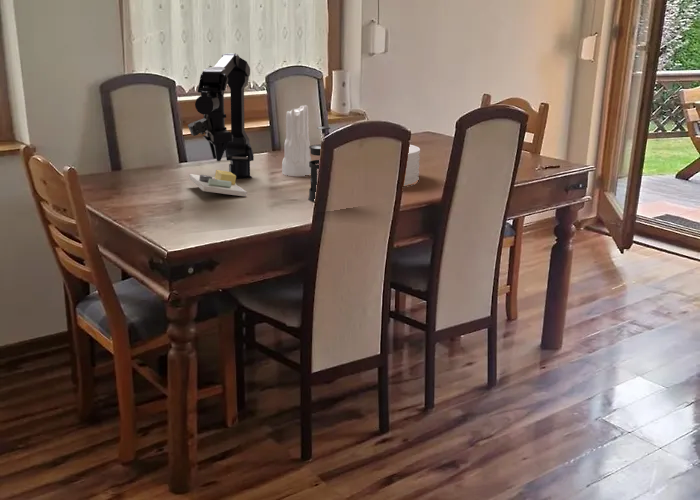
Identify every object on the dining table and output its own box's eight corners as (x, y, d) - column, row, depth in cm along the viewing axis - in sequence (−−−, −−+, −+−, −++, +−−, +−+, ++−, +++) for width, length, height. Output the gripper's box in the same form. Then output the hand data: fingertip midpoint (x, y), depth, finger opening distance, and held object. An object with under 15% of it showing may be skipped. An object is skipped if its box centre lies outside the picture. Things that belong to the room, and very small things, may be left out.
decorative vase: (277, 175, 282) (276, 105, 274) (290, 169, 291) (289, 102, 284) (304, 177, 278) (304, 107, 271) (316, 172, 287) (317, 103, 280)
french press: (300, 199, 246) (300, 126, 240) (319, 194, 254) (319, 123, 247) (329, 205, 240) (330, 130, 233) (348, 200, 247) (349, 127, 240)
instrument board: (228, 183, 266) (231, 170, 265) (246, 196, 248) (248, 182, 247) (188, 178, 260) (190, 165, 259) (203, 191, 242) (205, 176, 241)
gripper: (182, 108, 250) (185, 156, 254) (196, 115, 233) (198, 167, 238) (216, 106, 254) (218, 154, 259) (232, 114, 238) (234, 164, 242)
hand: (216, 159), depth 249 cm, fingers open, 4 cm apart
